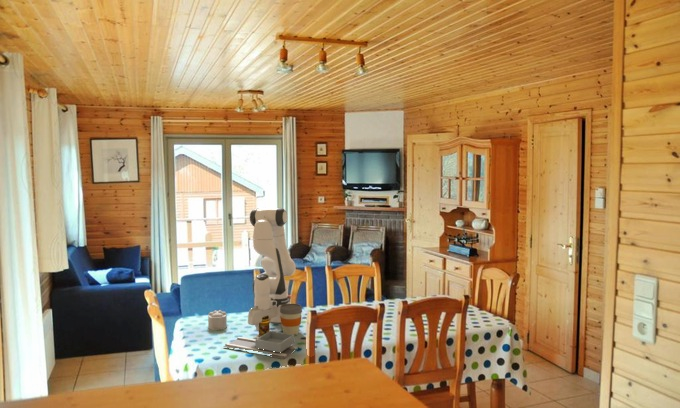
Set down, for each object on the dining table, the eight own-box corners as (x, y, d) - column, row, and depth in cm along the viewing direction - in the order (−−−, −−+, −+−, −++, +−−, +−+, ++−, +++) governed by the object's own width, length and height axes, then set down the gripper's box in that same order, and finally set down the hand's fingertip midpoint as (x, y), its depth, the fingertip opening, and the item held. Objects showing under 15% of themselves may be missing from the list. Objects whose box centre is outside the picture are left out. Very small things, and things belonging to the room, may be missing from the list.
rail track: (240, 338, 309) (240, 335, 309) (298, 348, 295) (298, 345, 295) (223, 348, 295) (223, 345, 295) (283, 359, 280) (283, 356, 280)
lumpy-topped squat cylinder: (208, 330, 322) (207, 315, 322) (208, 323, 335) (208, 308, 334) (226, 329, 324) (226, 314, 323) (226, 322, 337) (226, 308, 336)
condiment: (264, 340, 306) (264, 318, 304) (252, 337, 310) (252, 316, 309) (273, 336, 312) (273, 315, 310) (261, 333, 316) (261, 312, 315)
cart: (270, 340, 301) (270, 330, 300) (294, 345, 295) (294, 334, 294) (255, 349, 287) (255, 339, 287) (280, 354, 282) (280, 343, 281)
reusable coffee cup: (298, 336, 313) (298, 310, 311) (277, 335, 315) (276, 309, 314) (304, 329, 325) (304, 304, 324) (283, 327, 328) (283, 302, 326)
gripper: (253, 309, 298) (253, 335, 300) (279, 300, 315) (279, 324, 317) (244, 307, 302) (245, 332, 304) (270, 298, 319) (270, 322, 320)
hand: (262, 328), depth 310 cm, fingers closed on condiment, 6 cm apart
